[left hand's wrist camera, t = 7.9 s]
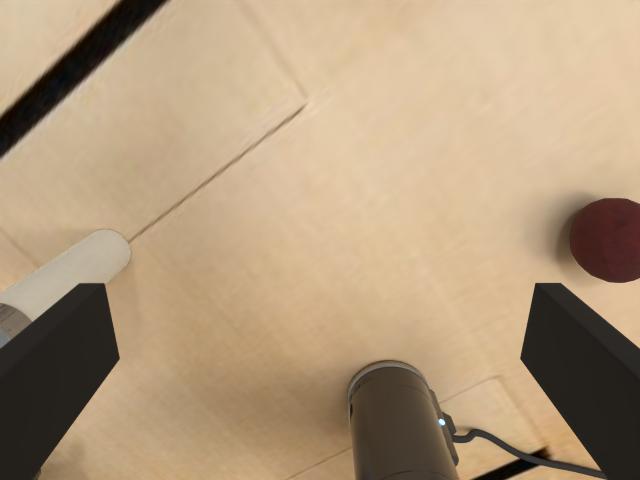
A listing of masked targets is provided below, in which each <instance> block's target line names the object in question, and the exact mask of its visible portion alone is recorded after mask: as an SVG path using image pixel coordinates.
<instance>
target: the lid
mask: <svg viewBox="0 0 640 480" xmlns="http://www.w3.org/2000/svg"><path fill="white" fill-rule="evenodd" d="M31 323H32V321H31V320H30V319H29V318H28V317H27V316H26V315H25V314H24V313H22V312H21V311H20V310H18V309H16V308H14V307H12V306H10V305H7V304H4V303H0V348H2V347H3V346H4V345H5V344H6V343H8V342H9V341H10V340H11V339H12V338H14V337H15V336H16V335H17V334H18V333H20V332H21V331H22V330H23V329H25V328H26V327H27V326H28V325H29V324H31Z"/></svg>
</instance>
